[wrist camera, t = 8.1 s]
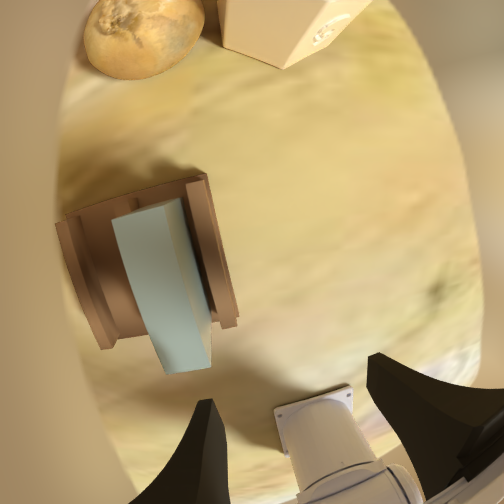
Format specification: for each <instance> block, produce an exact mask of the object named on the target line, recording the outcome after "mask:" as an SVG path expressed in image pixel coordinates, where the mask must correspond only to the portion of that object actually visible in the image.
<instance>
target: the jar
mask: <svg viewBox="0 0 504 504" xmlns="http://www.w3.org/2000/svg"><path fill="white" fill-rule="evenodd" d="M372 1H373V0H217V7H218V14H219V22H220V29H221V36H222V43H223V47H224V48H227V49H230V50H233V51H236V52H239V53H242V54H244V55H247V56H250V57H252V58H255V59H258V60H260V61H263V62H265V63H268V64H270V65H273V66H275V67H277V68H280V69H285V68H287V67H289V66H290V65H292V64H294V63H296V62H298V61H300V60H301V59H303V58H305V57H307V56H309V55H311V54H313V53H315V52H317V51H319V50H321V49H323V48H325V47H327V46H328V45H329V44H330V43H331V42H332V41H333V40H334V39H335V38H336V37H337V35H338V34H339V33H340V32H341V31H342V30H343V29H344V28H345V27H346V26H347V25H348V24H349V23H350V22H351V21H352V20H353V19H354V18H355V17H356V16H357V15H358V14H359V13H360V12H361V11H362V10H363V9H364V8H365V7H366V6H367V5H368V4H370V3H371V2H372Z"/></svg>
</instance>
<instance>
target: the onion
mask: <svg viewBox="0 0 504 504" xmlns="http://www.w3.org/2000/svg"><path fill="white" fill-rule="evenodd" d="M204 21H205V12H204V7H203V3H202V0H99V2H98V3H97V4H96V5H95V7H94V8H93V10H92V12H91V14H90V16H89V18H88V21H87V23H86V26H85V30H84V39H83V40H84V45H85V49H86V53H87V56H88V59H89V61H90V63H91V64H92V65H93V66H94V67H95V68H97V69H98V70H99V71H101V72H103V73H104V74H106V75H108V76H111V77H114V78H117V79H123V80H139V79H145V78H148V77H152V76H154V75H157V74H160V73H162V72H164V71H166V70H168V69H170V68H172V67H173V66H174V65H175V64H177V63H178V62H179V61H180V60H182V59H183V58H184V57H185V56H186V55H187V53H188V52H189V51H190V50H191V48H192V47H193V46H194V44H195V43H196V41H197V40H198V38H199V36H200V33H201V31H202V29H203V25H204Z"/></svg>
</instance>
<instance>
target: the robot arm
mask: <svg viewBox="0 0 504 504" xmlns="http://www.w3.org/2000/svg"><path fill="white" fill-rule="evenodd" d="M366 387H367V389H368V391H369V393H370V395H371V397H372V399H373V401H374V403H375V404H376V406H377V407H378V409H379V410H380V411H381V413H382V414H383V416H384V417H385V418H386V420H387V421H388V423H389V424H390V425H391V427H392V428H393V430H394V431H395V432H396V434H397V435H398V437H399V439H400V440H401V442H402V444H403V446H404V448H405V449H406V452H407V454H408V456H409V458H410V460H411V462H412V464H413V466H414V468H415V471H416V473H417V476H418V478H419V481H420V483H421V486H422V489H423V492H424V495H425V498H426V502H424V503H423V500H422V497H421V494H420V492H419V490H418V487H417V485H416V484H415V482H414V480H413V479H412V477H411V476H410V474H409V473H408V471H407V470H406V469H405V468H404V467H403V466H401V465H396V464H394V463H392V464H389V465H387V466H385V464H384V462H383V460H382V459H379V460H377V458H376V456H375V454H374V452H373V451H372V449H371V447H370V445H369V444H368V442H367V440H366V438H365V437H364V435H363V433H362V431H361V429H360V428H359V426H358V424H357V422H356V421H355V419H354V417H353V415H352V411H353V388H352V386H347V387H344V388H341V389H338V390H335V391H332V392H329V393H326V394H323V395H320V396H316V397H313V398H310V399H306V400H303V401H299V402H296V403H292V404H288V405H284V406H280V407H277V408H275V409H274V416H275V420H276V424H277V428H278V432H279V436H280V440H281V444H282V447H283V451H284V455H285V457H290V459H291V462H292V466H293V469H294V473H295V476H296V479H297V483H298V486H299V489H300V493H298V494H296V496H297V500H298V503H297V504H498V503H499V502H500V501H501V500H502V499H503V498H504V389H481V388H471V387H465V386H459V385H454V384H450V383H447V382H443V381H440V380H437V379H434V378H431V377H429V376H426V375H424V374H422V373H419V372H417V371H415V370H413V369H411V368H409V367H407V366H405V365H403V364H401V363H399V362H397V361H395V360H393V359H391V358H389V357H387V356H386V355H384V354H382V353H380V352H379V353H376V354H373V355H371V356H368V368H367V385H366ZM348 393H349V394H348ZM279 414H280V415H279ZM129 504H231V503H230V497H229V490H228V464H227V441H226V434H225V427H224V424H223V422H222V420H221V417H220V415H219V413H218V410H217V408H216V406H215V403H214V401H213V399H206V400H199V401H198V402H197V405H196V408H195V411H194V413H193V416H192V418H191V420H190V423H189V425H188V427H187V429H186V431H185V434H184V436H183V438H182V440H181V441H180V443H179V445H178V447H177V449H176V450H175V452H174V454H173V455H172V457H171V458H170V460H169V461H168V463H167V464H166V466H165V467H164V468H163V470H162V471H161V472H160V473H159V475H158V476H157V477H156V478H155V479H154V481H153V482H152V483H151V484H150V485H149V486H148V487H147V488H146V489H145V490H144V491H143V492H142V493H141V494H139V495H138V496H137V497H136V498H135V499H134V500H132V501H131V502H130V503H129Z"/></svg>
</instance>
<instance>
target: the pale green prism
mask: <svg viewBox="0 0 504 504" xmlns="http://www.w3.org/2000/svg"><path fill="white" fill-rule="evenodd" d="M111 221H112V225H113V228H114V232H115V236H116V240H117V243H118V247H119V250H120V253H121V257H122V260H123V263H124V267H125V270H126V273H127V276H128V279H129V282H130V285H131V288H132V291H133V294H134V297H135V299H136V302H137V305H138V308H139V310H140V313H141V316H142V318H143V321H144V324H145V326H146V329H147V331H148V334H149V336H150V339H151V341H152V343H153V346H154V348H155V350H156V353H157V355H158V357H159V360H160V362H161V364H162V366H163V369H164V371H165V373H166V375H167V374H174V373H181V372H187V371H193V370H199V369H205V368H210V367H211V329H212V310H211V306H210V303H209V299H208V296H207V292H206V288H205V285H204V281H203V277H202V274H201V270H200V266H199V262H198V258H197V255H196V251H195V247H194V243H193V239H192V235H191V231H190V226H189V222H188V218H187V214H186V209H185V205H184V201H183V197H179V198H175V199H171V200H167V201H163V202H160V203H156V204H152V205H148V206H145V207H143V208H140V209H137V210H135V211H132V212H130V213H127V214H125V215H122V216H120V217H117V218H115V219H112V220H111Z"/></svg>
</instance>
